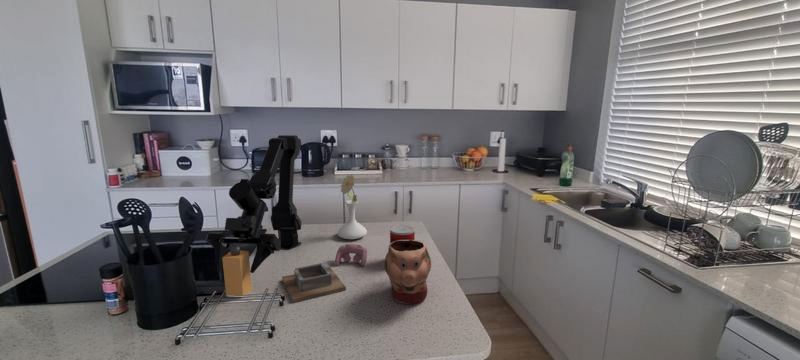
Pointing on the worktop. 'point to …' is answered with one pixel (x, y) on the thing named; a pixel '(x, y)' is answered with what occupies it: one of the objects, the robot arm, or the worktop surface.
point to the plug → (237, 272)
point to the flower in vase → (351, 212)
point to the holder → (312, 282)
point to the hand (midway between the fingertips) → (234, 271)
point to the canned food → (402, 233)
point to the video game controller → (351, 248)
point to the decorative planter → (408, 270)
